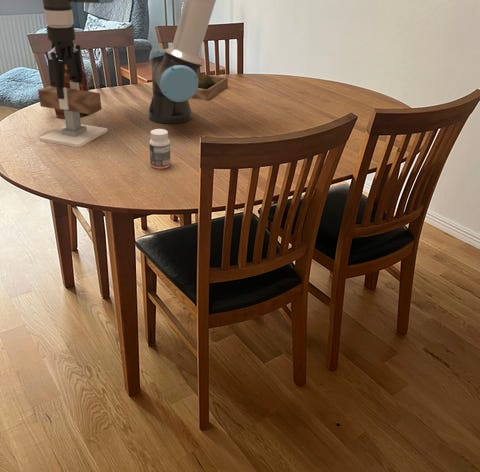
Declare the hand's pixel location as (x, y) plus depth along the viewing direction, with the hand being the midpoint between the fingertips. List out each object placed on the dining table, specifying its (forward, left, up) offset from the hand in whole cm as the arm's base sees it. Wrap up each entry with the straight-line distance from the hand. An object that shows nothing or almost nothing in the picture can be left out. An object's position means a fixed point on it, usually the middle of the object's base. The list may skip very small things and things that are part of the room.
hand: (70, 106), depth 156 cm
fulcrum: (0, 0, -10) cm, 10 cm away
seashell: (-16, -68, -10) cm, 70 cm away
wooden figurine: (+12, -17, -10) cm, 23 cm away
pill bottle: (-35, +10, -10) cm, 38 cm away
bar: (0, 0, -1) cm, 1 cm away
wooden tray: (-16, -66, -10) cm, 69 cm away
